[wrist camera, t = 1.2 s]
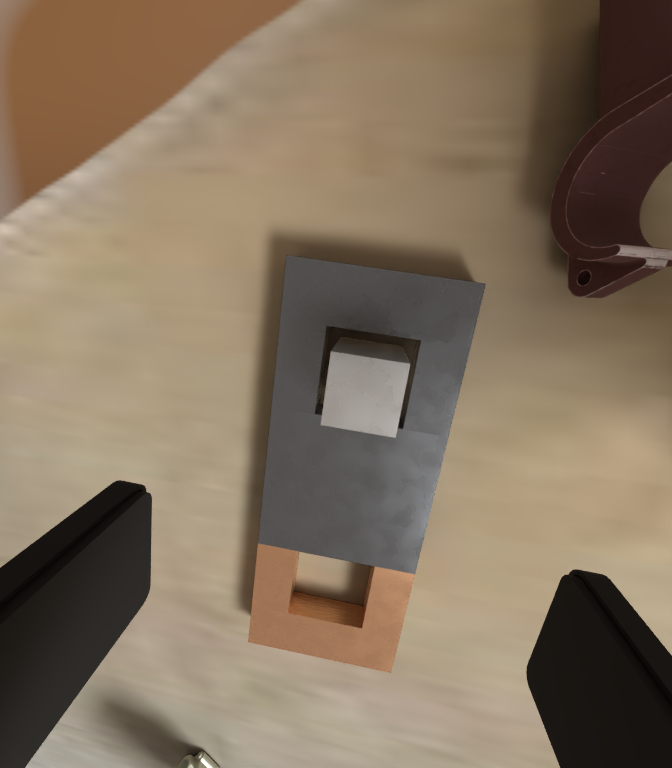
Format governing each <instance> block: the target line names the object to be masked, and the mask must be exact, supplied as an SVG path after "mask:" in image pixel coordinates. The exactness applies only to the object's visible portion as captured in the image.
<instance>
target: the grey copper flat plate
mask: <svg viewBox="0 0 672 768" xmlns="http://www.w3.org/2000/svg"><path fill="white" fill-rule="evenodd" d="M484 289H485V284H484V283H477V282H470V281H463V280H456V279H449V278H442V277H435V276H428V275H421V274H414V273H407V272H400V271H393V270H386V269H380V268H373V267H366V266H359V265H352V264H345V263H338V262H331V261H324V260H317V259H310V258H303V257H296V256H289V255H286V266H285V276H284V286H283V296H282V306H281V316H280V326H279V336H278V346H277V356H276V367H275V377H274V387H273V397H272V407H271V417H270V427H269V437H268V447H267V457H266V468H265V478H264V488H263V498H262V508H261V518H260V528H259V538H258V548H257V558H256V569H255V579H254V589H253V599H252V609H251V619H250V629H249V639H248V642H251V643H255V644H260V645H264V646H269V647H274V648H278V649H283V650H288V651H292V652H297V653H302V654H306V655H311V656H315V657H320V658H325V659H329V660H334V661H339V662H343V663H348V664H352V665H357V666H362V667H366V668H371V669H376V670H380V671H385V672H389V673H391V671H392V667H393V663H394V658H395V654H396V650H397V646H398V642H399V638H400V634H401V630H402V626H403V621H404V617H405V613H406V609H407V605H408V601H409V597H410V593H411V589H412V584H413V580H414V576H415V572H416V568H417V564H418V560H419V556H420V552H421V547H422V543H423V539H424V535H425V531H426V527H427V523H428V519H429V515H430V510H431V506H432V502H433V498H434V494H435V490H436V486H437V482H438V478H439V473H440V469H441V465H442V461H443V457H444V453H445V449H446V445H447V441H448V436H449V432H450V428H451V424H452V420H453V416H454V412H455V408H456V404H457V399H458V395H459V391H460V387H461V383H462V379H463V375H464V371H465V367H466V362H467V358H468V354H469V350H470V346H471V342H472V338H473V334H474V330H475V326H476V321H477V317H478V313H479V309H480V305H481V301H482V297H483V293H484ZM330 326H332V327H338V328H344V329H351V330H357V331H364V332H370V333H377V334H383V335H390V336H396V337H402V338H409V339H415V340H417V341H416V346H415V351H414V356H413V361H412V366H411V371H410V376H409V381H408V386H407V391H406V396H405V401H404V406H403V411H402V416H401V418H400V419H399V424H398V429H397V434H396V438H393V437H388V436H382V435H376V434H370V433H364V432H359V431H353V430H347V429H341V428H335V427H330V426H324V425H321V419H322V411H323V405H321V404H320V396H321V389H322V382H323V374H324V367H325V360H326V352H327V345H328V338H329V330H330ZM299 552H304V553H309V554H314V555H320V556H325V557H330V558H335V559H340V560H345V561H350V562H355V563H360V564H365V565H370V566H371V569H370V574H369V579H368V584H367V589H366V594H365V599H364V604H363V606H361V605H356V604H352V603H347V602H342V601H337V600H332V599H327V598H322V597H317V596H313V595H308V594H303V593H298V592H294V587H295V580H296V573H297V565H298V558H299Z"/></svg>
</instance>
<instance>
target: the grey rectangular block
mask: <svg viewBox="0 0 672 768" xmlns="http://www.w3.org/2000/svg"><path fill="white" fill-rule="evenodd" d="M409 369H410V362H409V360H408V357H407V355H406V353H405V351H404V348H403V346H397V345H391V344H385V343H378V342H372V341H365V340H359V339H353V338H346V337H341V338H340V339H339V340H338V342H337V343H336V345H335V346H334V348H333V349H332V350H331V354H330V361H329V368H328V375H327V383H326V390H325V397H324V404H323V411H322V419H321V425H324V426H330V427H335V428H341V429H347V430H353V431H359V432H364V433H370V434H376V435H382V436H388V437H393V438H396V434H397V429H398V424H399V419H400V414H401V409H402V404H403V399H404V394H405V389H406V384H407V379H408V374H409Z"/></svg>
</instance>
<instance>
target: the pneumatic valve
mask: <svg viewBox="0 0 672 768" xmlns="http://www.w3.org/2000/svg"><path fill="white" fill-rule="evenodd" d="M177 768H220V767H219V766H218V765H217V764H216V763H215V762H214V761H213V760H212V759H211V758H210V757H209V756H208V755H207V754H206V753H205V752H204V751H202V752H199V753H198V755H196V756H194V757H193V756H192V755H187V756H185V757H184V758H183V759H182V760H181V762H180V763H179V765H178V766H177Z"/></svg>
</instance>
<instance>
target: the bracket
mask: <svg viewBox="0 0 672 768" xmlns="http://www.w3.org/2000/svg"><path fill="white" fill-rule="evenodd" d="M670 162H672V0H600V43H599V109H598V122H597V123H596V124H595V125H594V126H593V127H592V128H590V129H589V131H588V132H587V133H586V134H585V135H584V136H583V137H582V138H581V140H580V141H579V142H578V143H577V145H576V146H575V148H574V149H573V150H572V152H571V153H570V155H569V157H568V158H567V160H566V162H565V164H564V165H563V167H562V169H561V172H560V174H559V176H558V179H557V181H556V184H555V187H554V191H553V195H552V199H551V206H550V223H551V229H552V233H553V236H554V238H555V240H556V242H557V244H558V245H559V247H560V248H561V249H562V250H563V251H564V252H565V253H567V254H568V288H569V290H570V292H571V293H572V294H573V295H574V296H577V297H590V298H603V297H606V296H608V295H610V294H612V293H614V292H616V291H618V290H620V289H622V288H625V287H627V286H629V285H631V284H633V283H635V282H637V281H639V280H641V279H643V278H645V277H647V276H649V275H651V274H653V273H655V272H657V271H660V270H662V269H663V268H664V267H665V266H672V249H662V248H653V247H651V246H650V245H649V244H648V243H647V242H646V240H645V239H644V237H643V235H642V233H641V229H640V223H639V218H640V210H641V206H642V203H643V200H644V197H645V195H646V193H647V191H648V189H649V188H650V186H651V184H652V183H653V181H654V180H655V179H656V177H657V176H658V175H659V174H660V172H661V171H662V170H663V169H664V168H665V167H666V166H667V165H668V164H669V163H670Z"/></svg>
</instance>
